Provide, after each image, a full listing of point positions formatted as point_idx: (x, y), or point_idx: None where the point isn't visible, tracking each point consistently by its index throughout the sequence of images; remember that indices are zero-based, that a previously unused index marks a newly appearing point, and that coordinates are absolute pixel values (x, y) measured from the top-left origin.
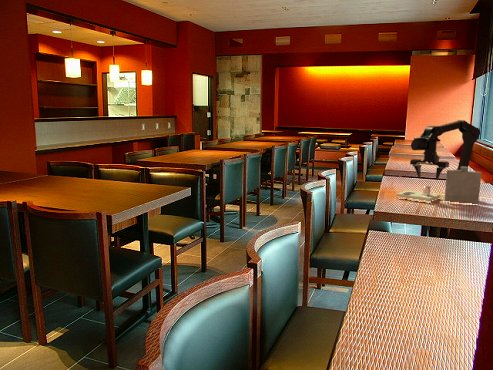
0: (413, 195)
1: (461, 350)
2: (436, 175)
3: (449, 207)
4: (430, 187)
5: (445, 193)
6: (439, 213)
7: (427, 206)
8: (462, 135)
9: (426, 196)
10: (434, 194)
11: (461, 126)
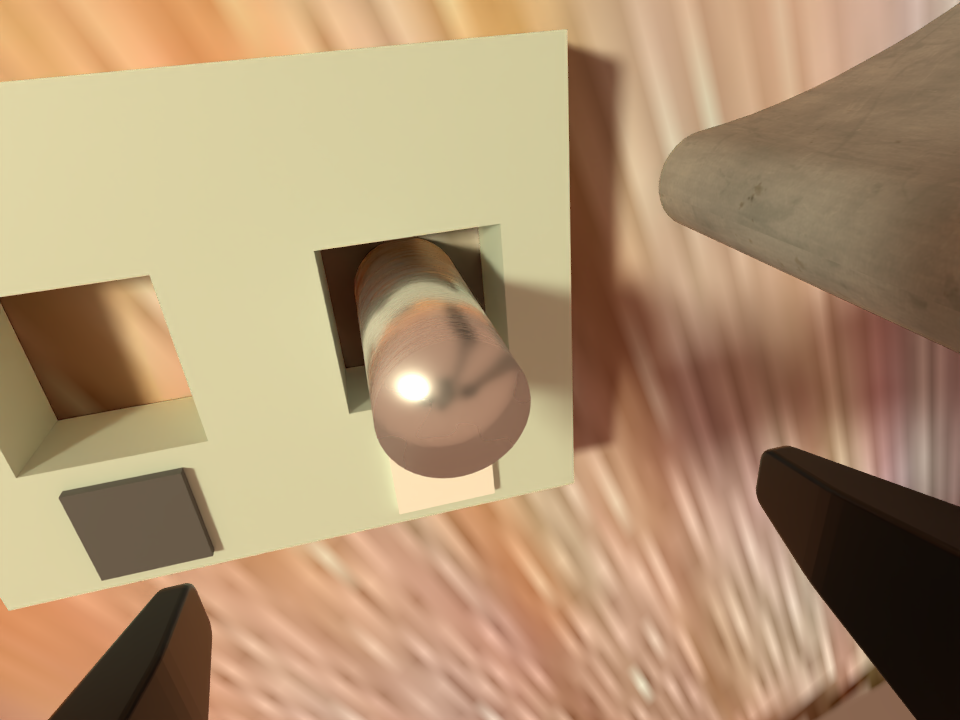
0: (295, 511)
1: None
2: (888, 659)
3: (775, 395)
4: (522, 376)
5: (771, 265)
6: (751, 644)
7: (581, 542)
8: None
9: None
10: (480, 112)
11: None
